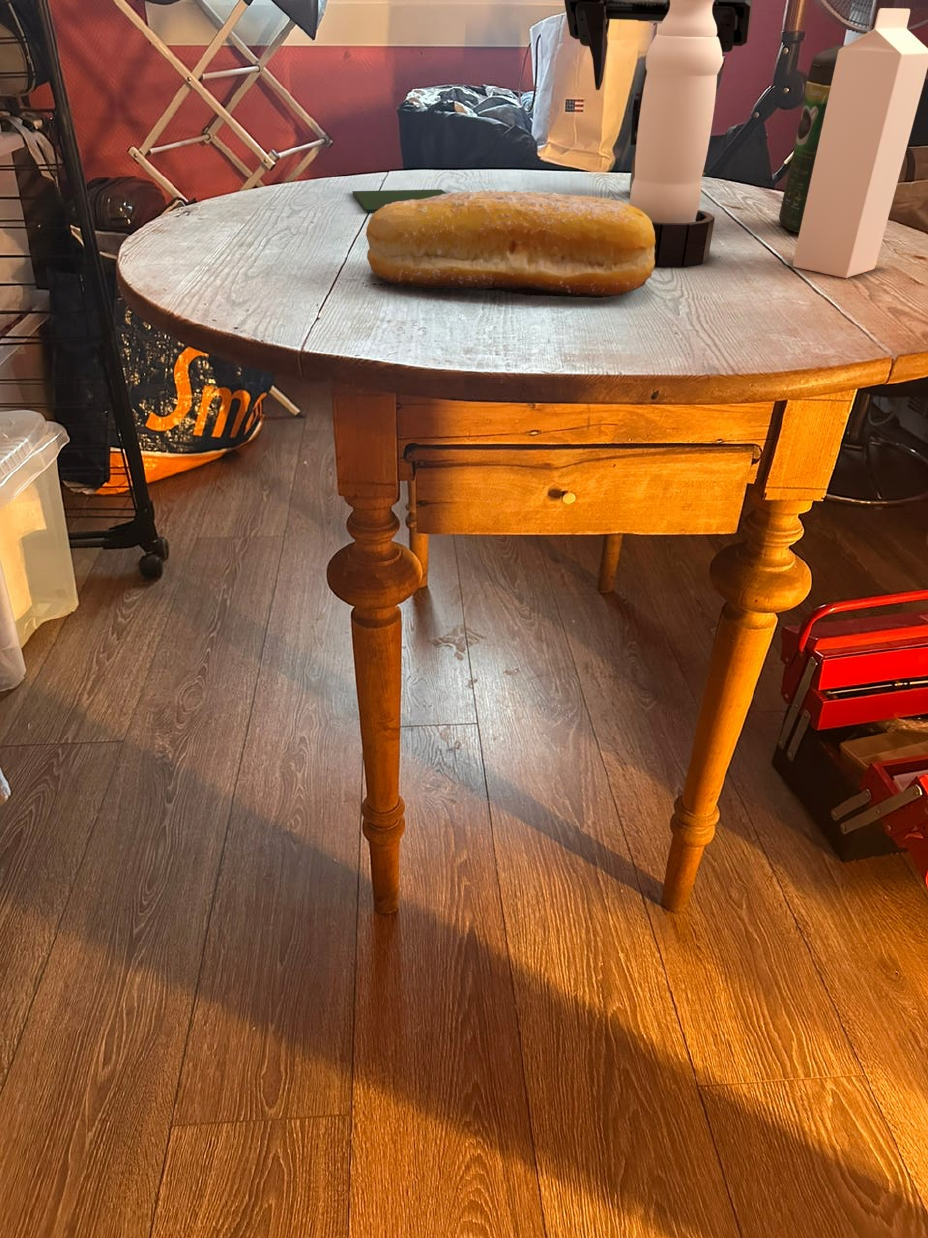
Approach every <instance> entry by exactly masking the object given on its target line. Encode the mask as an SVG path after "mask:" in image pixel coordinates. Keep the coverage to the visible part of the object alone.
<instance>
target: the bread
mask: <svg viewBox="0 0 928 1238" xmlns="http://www.w3.org/2000/svg"><path fill="white" fill-rule="evenodd" d="M365 237H366V240H367V244H368V247H369V248H368V250H367V252H366V253H367V254H366V259H367V262H368V264H369V267H370V269H371V270H372V272H373V273H374V274H375V275H376V276H377V277H378V278H380V279H381V280H383V281H385V282H387V283H390V284H393V285H396V286H397V285H398V286H406V287H414V288H421V289H422V288H423V289H442V288H443V289H444V288H447V289H448V288H451V289H452V288H453V289H466V290H476V291H477V290H478V291H479V290H480V291H493V292H501V293H506V294H507V293H508V294H515V295H520V296H529V297H531V296H532V297H555V298H556V297H557V298H583V299H584V298H585V299H604V298H613V297H617V296H621V295H625V294H627V293H630V292H633V291H635V290H638V289H639V288H641V287H643V286H645V284H646V282H647V280H649V279H650V278H651V277H652V273H653V271H654V268H655V267H654V265H655V260H654V253H655V250H654V245H655V231H654V228H653V225H652V221H651V220H650V218H649V217H648V216H647V215H646V214H645V213H644V212H642V211H641V210H640V209H638V208H636V207H634V206H632V205H630V203H628V202H625V201H621V200H615V199H609V198H604V197H600V196H599V197H598V196H588V195H572V194H559V193H557V192H551V193H540V192H535V191H527V192H525V191H523V192H522V191H517V190H514V191H508V190H507V191H499V190H492V189H488V190H485V189H482V190H480V191H468V189H466V190H460V191H457V192H451V191H449V192H448V193H447V194H442V195H439V196H433V197H430V198H425V199H419V200H413V199H411V200H406V201H397V202H392V203H391V204H386V205H385V206H383V207H382V208H380V209H379V210H377V211H376V212H375V213H372V215H371V216H370V218H369V220H368V224H367V226H366V231H365Z"/></svg>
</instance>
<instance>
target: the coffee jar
mask: <svg viewBox="0 0 928 1238" xmlns="http://www.w3.org/2000/svg"><path fill="white" fill-rule="evenodd" d="M846 45H847V44H845V45H835V46H828V47H826V48H825V49H824V50H823V51H821V52H819V53H817V54H816V55H814V57H813V58H812V60H811V64H810V67H809V71H808V74H807V78H806V79H807V81H806V84H805V89H804V97H803V104H802V110H801V114H800V118H799V119H800V120H799V125H798V129H797V134H796V138H795V143H794V147H793V151H792V152H793V153H792V157H791V162H790V166H789V170H788V175H787V177H786V178H787V179H786V183H785V187H784V191H783V196H782V201H781V205H780V208H779V209H780V210H779V215H778V219H779V222H780V223H781V225H782V226H783V227H785V228H787V230H790V231H792V232H794V233H797V234H799V233H800V228H801V224H802V219H803V214H804V210H805V205H806V200H807V196H808V191H809V186H810V182H811V177H812V172H813V168H814V163H815V158H816V154H817V149H818V144H819V140H820V135H821V130H822V126H823V121H824V116H825V112H826V107H827V102H828V98H829V93H830V88H831V84H832V79H833V74H834V70H835V65H836V60H837V56H838V51H839V49H841V48H843V47H844V46H846Z"/></svg>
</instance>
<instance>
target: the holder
mask: <svg viewBox="0 0 928 1238" xmlns="http://www.w3.org/2000/svg"><path fill="white" fill-rule="evenodd" d="M715 220H716V219H715V216H714V215H712V214H711V213H709V212H707V211H704V210H701V209H698V212H697V215H696V220H695V222H690V223H658V222H652V225H653V228H654V231H655V245H654V250H655V253H654V260H655V265H654V268H655V267H656V268H682V267H683V268H684V267H691V266H697V265H702V264H703V263H705V262H706V261H707V260H708V259H709V257H710V256H709V255H710V250H711V245H712V238H713V232H714V226H715Z"/></svg>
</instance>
